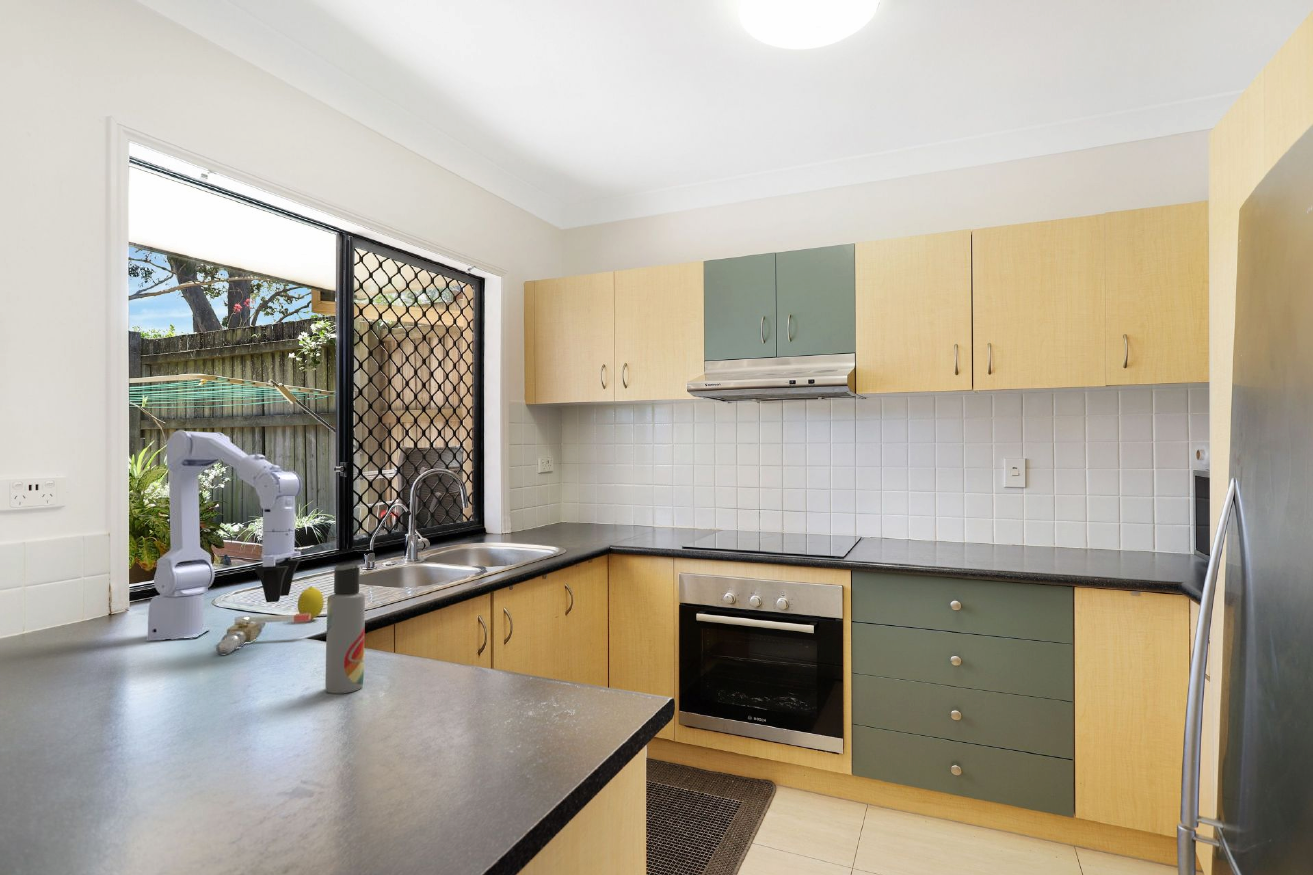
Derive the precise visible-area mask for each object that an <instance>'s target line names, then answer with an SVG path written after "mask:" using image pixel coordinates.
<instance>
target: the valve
mask: <svg viewBox="0 0 1313 875" xmlns="http://www.w3.org/2000/svg"><path fill="white" fill-rule="evenodd" d="M265 626H266V623H250V624H245V625H235V624H233V625H232V626H229V628H226V634H225V635H224V636H223V637H222V639H221V640H220V642H218V643H217V645H216V653H218V655H220V654H228V655H230V654H231V653H232V652H234V651H235V650H234V649H236V648H237V647H242V646H243V647H244V646H245V644H244V643H245V642H251V641H253V640H254V639H256V638H257V637H258V638H259V636H260V634H261V633H262V631H263V629H264V628H265ZM256 640H257V639H256ZM243 647H242V648H243ZM236 650H237V649H236Z"/></svg>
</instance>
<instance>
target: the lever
mask: <svg viewBox="0 0 1313 875" xmlns="http://www.w3.org/2000/svg"><path fill="white" fill-rule="evenodd" d="M310 620H311V613H303V614H300V613H296V614H287V615H267V616H266V615H265V616H264V615H263V616H262V615H261V616H250V615H242V616H237V617H235V618H234V625H245V624H250V623H265V624H266V623H281V622H284V623H285V622H294V623H301V622H302V623H303V622H310ZM311 621H312V620H311Z"/></svg>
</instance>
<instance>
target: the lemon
mask: <svg viewBox="0 0 1313 875" xmlns="http://www.w3.org/2000/svg"><path fill="white" fill-rule="evenodd" d="M323 608H324V596H323V594H322V592H321V591H320V590H319V589H318V588H315V587H313V586H309V587H308V588H307V589H305V590H303V591H302V592H301V593H300V595H299V597H298V600H297V611H298V614H303V613H311V620H310V621H313V620H314V618H316V617H318V616H319V615H320V614H321V613H322V611H323ZM310 621H309V622H310Z"/></svg>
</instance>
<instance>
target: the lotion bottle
mask: <svg viewBox="0 0 1313 875" xmlns="http://www.w3.org/2000/svg"><path fill="white" fill-rule="evenodd" d="M333 573H334V576H333V578H334V579H333V593H332V594H330V595H328V596H327V598H326V600H327V602H326V603H327V607H326V641H325V645H326V647H325V677H324V678H325V691H326V692H327V693H329V694H335V695H337V694H347V693H352V692H356V691H358V690H360V689H362V688H363V686H364V676H365V674H364V671H365V669H364V668H365V629H366V627H365V626H366V624H365V622H366V620H365V619H366V595H365V593H363V592H360V578H361V577H360V576H361V575H360V567H358V564H356V563H349V564H344V565H339V566H335V567H334V572H333Z"/></svg>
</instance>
